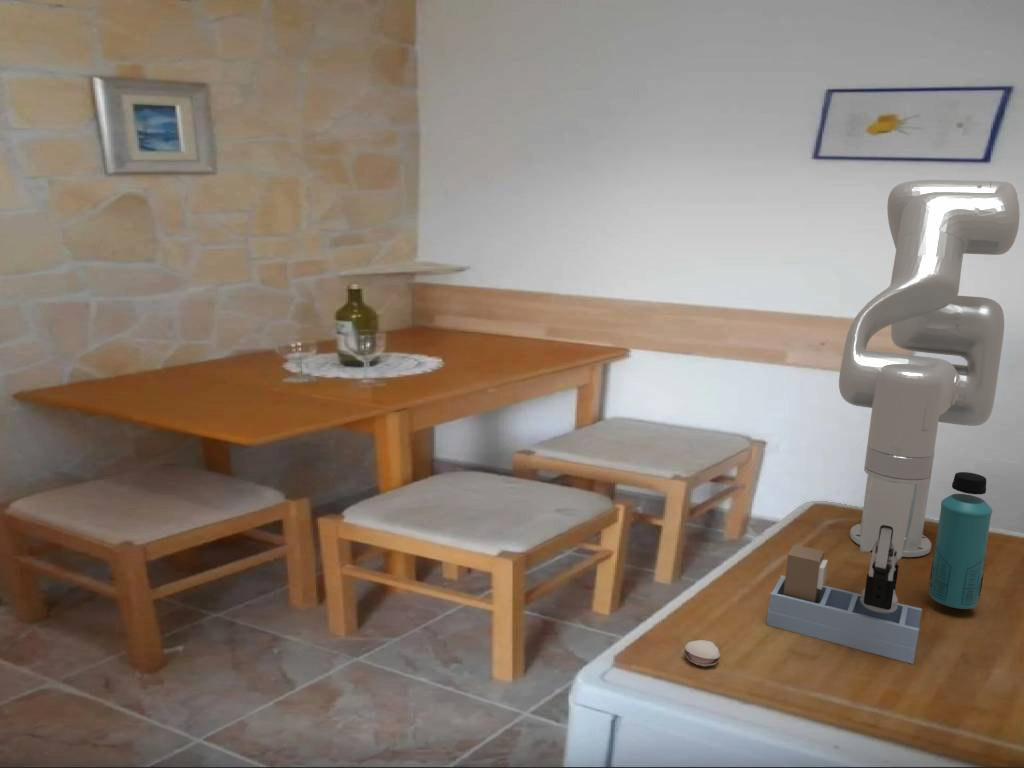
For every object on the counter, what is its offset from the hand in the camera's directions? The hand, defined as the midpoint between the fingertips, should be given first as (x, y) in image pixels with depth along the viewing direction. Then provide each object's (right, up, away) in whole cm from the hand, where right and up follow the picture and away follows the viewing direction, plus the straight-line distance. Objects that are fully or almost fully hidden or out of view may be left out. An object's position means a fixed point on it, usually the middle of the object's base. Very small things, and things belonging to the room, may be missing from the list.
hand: (879, 597), depth 106 cm
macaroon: (-24, -7, -4) cm, 25 cm away
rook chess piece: (0, -1, 0) cm, 2 cm away
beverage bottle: (+15, -5, +11) cm, 19 cm away
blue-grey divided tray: (-4, -5, +3) cm, 7 cm away
